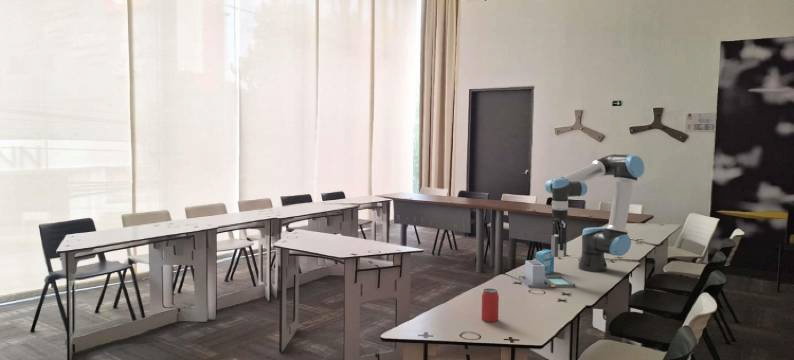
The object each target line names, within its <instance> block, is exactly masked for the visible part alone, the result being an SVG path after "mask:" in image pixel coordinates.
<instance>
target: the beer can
mask: <svg viewBox="0 0 794 360" xmlns="http://www.w3.org/2000/svg"><path fill="white" fill-rule="evenodd" d="M499 299H500V298H499V293H498V290H497V289H496V288H495V289H494V288H484V289H483V291H482V293H481V319H482V321H484V322H487V323H495V322H497V321H498V320H499V305H500V304H499Z"/></svg>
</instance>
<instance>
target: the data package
mask: <svg viewBox="0 0 794 360" xmlns="http://www.w3.org/2000/svg"><path fill="white" fill-rule="evenodd" d="M535 260H537V261H539V262H540V263H541V264H543V265H544V266H545V275H548V274H550V273H551V274H552V273H553V272H554V269H555V257H554V256H552V255H551V249H545V248H544V249H543V250H539V251H536V253H535Z"/></svg>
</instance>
